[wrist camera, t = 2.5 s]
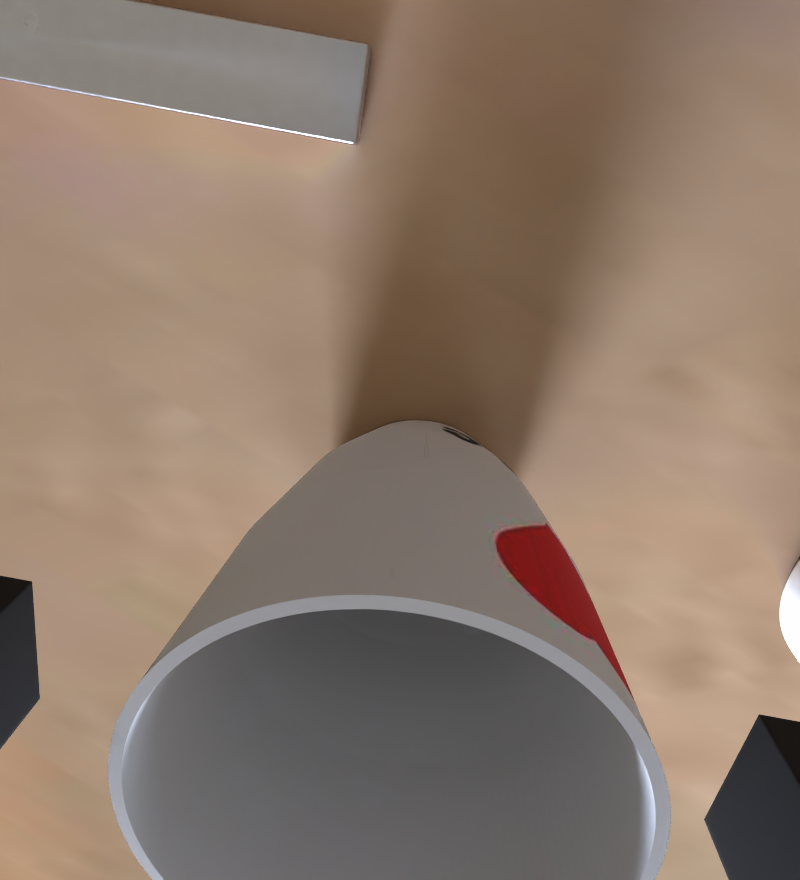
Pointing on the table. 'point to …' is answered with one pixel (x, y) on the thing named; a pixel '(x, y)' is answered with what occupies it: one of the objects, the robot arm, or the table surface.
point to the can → (791, 611)
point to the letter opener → (188, 63)
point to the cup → (392, 692)
